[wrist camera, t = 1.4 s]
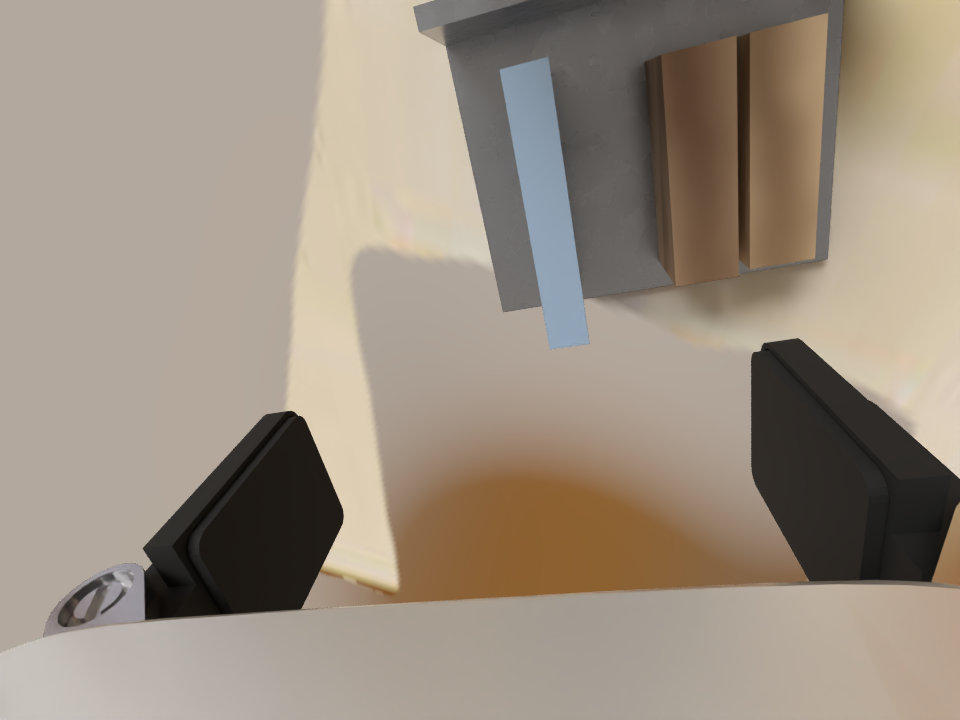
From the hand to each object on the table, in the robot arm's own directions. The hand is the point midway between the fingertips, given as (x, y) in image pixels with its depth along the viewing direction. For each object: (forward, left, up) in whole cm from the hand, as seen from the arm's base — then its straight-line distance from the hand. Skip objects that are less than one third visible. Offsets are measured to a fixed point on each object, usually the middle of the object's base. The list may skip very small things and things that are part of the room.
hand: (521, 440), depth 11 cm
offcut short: (-15, 0, -32) cm, 35 cm away
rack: (-7, -1, -33) cm, 34 cm away
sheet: (0, 0, -32) cm, 32 cm away
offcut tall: (-10, 0, -32) cm, 34 cm away
